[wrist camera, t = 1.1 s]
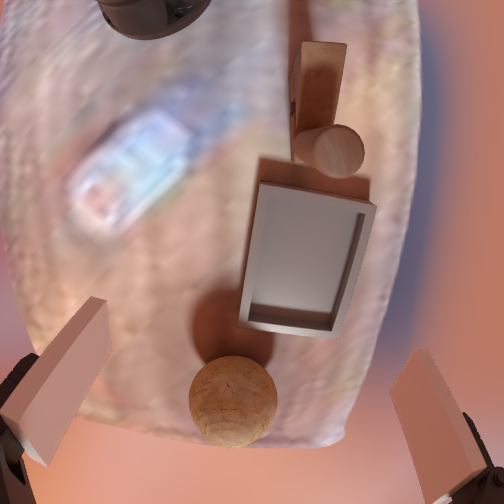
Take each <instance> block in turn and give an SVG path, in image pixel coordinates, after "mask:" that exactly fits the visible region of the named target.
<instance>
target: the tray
mask: <svg viewBox="0 0 504 504" xmlns="http://www.w3.org/2000/svg"><path fill="white" fill-rule="evenodd" d="M376 208H377V206H376V205H374V204H373V203H371V202H370V201H366V200H362V199H357V198H353V197H348V196H343V195H338V194H333V193H328V192H323V191H318V190H313V189H307V188H302V187H296V186H291V185H285V184H279V183H273V182H267V181H261V180H260V186H259V192H258V198H257V205H256V211H255V217H254V224H253V230H252V236H251V242H250V249H249V255H248V261H247V268H246V274H245V280H244V287H243V293H242V300H241V306H240V312H239V319H238V325H237V327H243V328H250V329H256V330H263V331H271V332H278V333H286V334H294V335H302V336H311V337H320V338H330V339H337V338H338V336H339V333H340V330H341V327H342V324H343V321H344V318H345V316H346V313H347V310H348V307H349V304H350V301H351V297H352V294H353V291H354V288H355V285H356V282H357V278H358V275H359V272H360V268H361V265H362V261H363V258H364V254H365V251H366V247H367V244H368V240H369V236H370V232H371V229H372V225H373V221H374V217H375V213H376Z"/></svg>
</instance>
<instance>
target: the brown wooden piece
mask: <svg viewBox="0 0 504 504" xmlns="http://www.w3.org/2000/svg"><path fill="white" fill-rule="evenodd" d="M346 49H347V45H346V44H344V43H333V42H320V41H302V42H301V45H300V47H299V50H298V53H297V56H296V58H295V61H294V64H293V67H292V70H291V72H290V75H289V100H290V102H291V103H296V112H295V113H294V114H293V115H292V116H291V118H290V131H291V160H292V162H294V163H295V164H308V165H310V166H312V167H313V168H315V169H316V170H318V171H320V172H321V173H323V174H325V175H327V176H329V177H331V178H336V179H341V178H347V177H349V176H351V175H353V174H354V173H355V172H357V171H358V170H359V169H360V167H361V165H362V163H363V161H364V155H365V151H364V144H363V142H362V140H361V138H360V136H359V135H358V134H357V133H356V132H355V131H354V130H353V129H351V128H349V127H347V126H344V125H340V124H336V125H334V120H335V114H336V109H337V103H338V98H339V92H340V86H341V80H342V74H343V68H344V62H345V55H346Z"/></svg>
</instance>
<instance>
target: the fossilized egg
mask: <svg viewBox="0 0 504 504" xmlns="http://www.w3.org/2000/svg"><path fill="white" fill-rule="evenodd" d="M189 409H190V412H191V416H192V419H193V421H194V423H195V425H196V426H197V428H198V429H199V431H200V432H201V433H202V434H203V435H204V436H205V437H206V438H207V439H208V440H209V441H211V442H212V443H214V444H216V445H218V446H221V447H225V448H238V447H242V446H245V445H247V444H249V443H251V442H253V441H255V440H256V439H257V438H259V437H260V436H261V435H262V434H263V433H264V432H265V431H266V430H267V428H268V427H269V425H270V424H271V422H272V420H273V419H274V416H275V412H276V409H277V391H276V387H275V384H274V381H273V379H272V378H271V376H270V375H269V373H268V372H267V371H266V370H265V369H264V368H263V367H262V366H261V365H259V364H258V363H256V362H255V361H253V360H251V359H249V358H246V357H242V356H225V357H221V358H218V359H215V360H213V361H211V362H209V363H208V364H206V365H205V366H204V367H203V368H202V369H201V370H200V371H199V372H198V373H197V375H196V376H195V378H194V380H193V381H192V384H191V388H190V391H189Z"/></svg>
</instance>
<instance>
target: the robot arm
mask: <svg viewBox="0 0 504 504" xmlns="http://www.w3.org/2000/svg"><path fill="white" fill-rule="evenodd" d="M96 1H97V2H98V4H99V7H100V9H101V11H102V14H103V16H104V18H105V20H106V22H107V23H108V24H109V25H110V26H111V27H112V28H113V29H114V30H116V31H117V32H119V33H120V34H122V35H124V36H126V37H128V38H132V39H137V40H152V39H158V38H162V37H166V36H169V35H171V34H174V33H176V32H178V31H180V30H182V29H183V28H185V27H187V26H188V25H190V24H191V23H192V22H194V21H195V20H196V19H197V18H198V17H199V16H200V15H201V14H202V13H203V12H204V11H205V10H206V8H207V7H208V5H209V4H210V2H211V0H96ZM111 352H112V346H111V338H110V330H109V320H108V310H107V300H103V299H99V298H95V297H92V296H91V297H90V298H89V299H88V300H87V301H86V302H85V303H84V305H83V306H82V307H81V308H80V309H79V310H78V311H77V313H76V314H75V315H74V316H73V317H72V318H71V319H70V321H69V322H68V323H67V324H66V325H65V326H64V328H63V329H62V330H61V331H60V332H59V334H58V335H57V336H56V337H55V338H54V340H53V341H52V342H51V343H50V344H49V346H48V347H47V348H46V349H45V351H44V352H43V353H42V354H41V356H38V355H36V354H34V353H30V354H29V355H27V356H26V357H24V358H23V359H21V360H20V361H19V362H18V363H17V365H16V366H15V367H14V368H13V371H11V372H10V373H9V375H8V376H7V378H5V380H4V381H3V382H2V383H1V385H0V504H36V501H35V498H34V495H33V492H32V489H31V486H30V482H29V479H28V476H27V472H26V468H25V464H24V461H23V459H22V457H21V456H22V454H23V452H24V450H25V452H26V453H27V454H28V455H29V457H30V458H31V459H33V460H35V461H36V462H38V463H40V464H42V465H44V466H46V467H49V465H50V463H51V461H52V459H53V457H54V455H55V453H56V451H57V449H58V447H59V445H60V443H61V441H62V439H63V437H64V435H65V433H66V431H67V429H68V428H69V426H70V424H71V422H72V420H73V418H74V416H75V415H76V413H77V411H78V409H79V407H80V405H81V404H82V402H83V400H84V398H85V396H86V395H87V393H88V391H89V389H90V388H91V386H92V384H93V382H94V381H95V379H96V377H97V375H98V374H99V372H100V370H101V369H102V367H103V365H104V364H105V362H106V360H107V358H108V357H109V355H110V353H111ZM389 393H390V396H391V398H392V401H393V404H394V407H395V409H396V412H397V415H398V418H399V421H400V423H401V426H402V429H403V432H404V435H405V438H406V441H407V444H408V447H409V450H410V453H411V456H412V460H413V463H414V466H415V469H416V472H417V476H418V479H419V483H420V486H421V490H422V493H423V497H424V500H425V504H440V503H442V502H444V501H445V500H446V499H447V498H449V497H451V498H452V501H451V502H450V503H449V504H504V468H503V467H494V465H493V463H492V461H491V458H490V456H489V454H488V452H487V450H486V448H485V445H484V443H483V441H482V439H480V435H479V433H478V432H477V429H476V427H475V425H474V423H473V421H472V420H471V419H470V417H468V415H467V414H466V413H465V412H463V413H462V412H461V410H460V408H459V406H458V404H457V402H456V400H455V399H454V397H453V395H452V393H451V391H450V389H449V387H448V385H447V384H446V382H445V380H444V378H443V376H442V375H441V373H440V371H439V370H438V368H437V366H436V364H435V362H434V361H433V359H432V357H431V355H430V354H429V352H428V350H426V349H414V350H413V352H412V353H411V355H410V357H409V359H408V361H407V362H406V364H405V366H404V368H403V369H402V371H401V373H400V375H399V376H398V378H397V379H396V381H395V383H394V385H393V386H392V387H391V389H390V391H389Z"/></svg>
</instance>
